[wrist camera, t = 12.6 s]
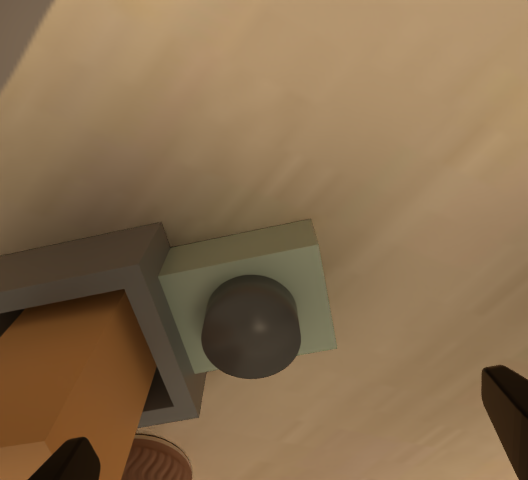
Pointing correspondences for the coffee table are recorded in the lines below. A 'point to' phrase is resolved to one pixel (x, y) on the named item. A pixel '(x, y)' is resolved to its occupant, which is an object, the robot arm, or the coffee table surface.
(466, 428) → the coffee table surface
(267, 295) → the grey tray
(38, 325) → the orange rectangular pillar
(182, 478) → the coffee cup
